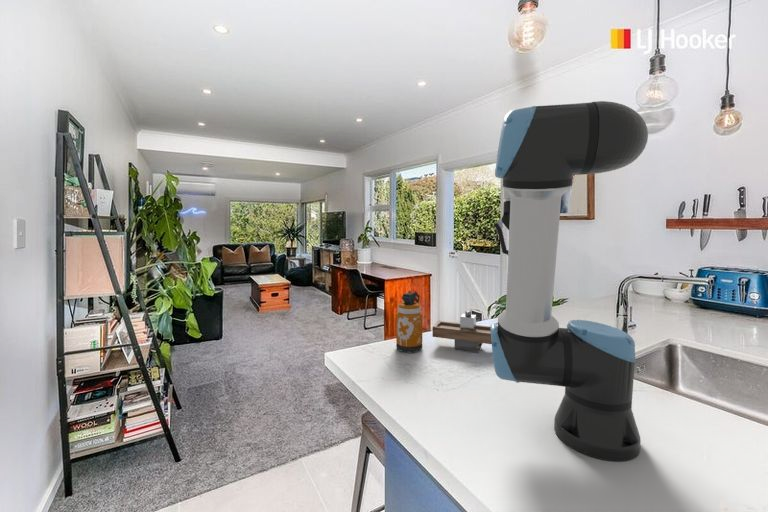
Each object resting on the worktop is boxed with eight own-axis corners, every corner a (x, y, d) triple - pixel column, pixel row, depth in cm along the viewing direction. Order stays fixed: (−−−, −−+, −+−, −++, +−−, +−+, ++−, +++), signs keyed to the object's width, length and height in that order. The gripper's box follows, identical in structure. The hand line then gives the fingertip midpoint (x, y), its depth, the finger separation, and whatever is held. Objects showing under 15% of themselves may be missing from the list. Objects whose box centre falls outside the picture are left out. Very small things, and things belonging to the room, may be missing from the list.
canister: (391, 351, 123) (391, 293, 121) (405, 341, 132) (405, 287, 130) (416, 355, 119) (416, 295, 117) (428, 345, 128) (428, 289, 126)
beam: (501, 357, 116) (502, 334, 115) (432, 347, 125) (432, 326, 125) (503, 349, 124) (504, 327, 123) (438, 340, 133) (438, 320, 132)
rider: (473, 332, 121) (473, 313, 120) (460, 331, 123) (460, 312, 122) (475, 328, 125) (476, 310, 124) (462, 327, 127) (463, 309, 126)
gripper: (539, 200, 111) (536, 276, 113) (495, 201, 116) (493, 274, 118) (540, 198, 104) (537, 279, 106) (493, 200, 109) (491, 277, 111)
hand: (514, 276), depth 112 cm, fingers closed
